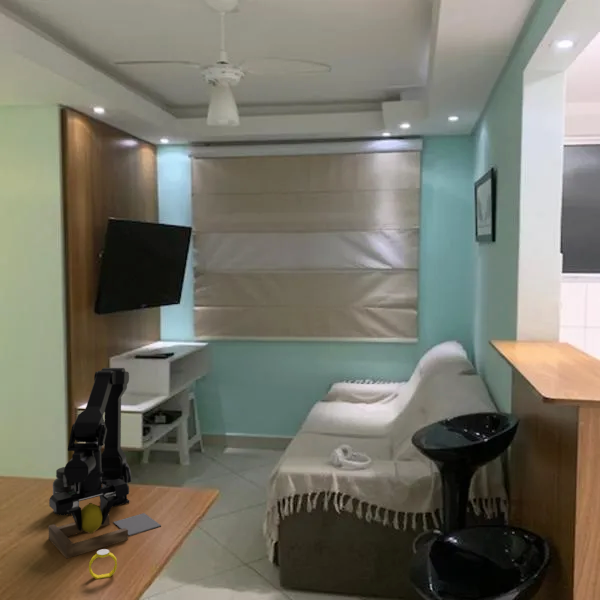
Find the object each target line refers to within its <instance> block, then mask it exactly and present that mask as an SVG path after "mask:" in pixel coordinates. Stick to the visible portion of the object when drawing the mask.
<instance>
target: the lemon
mask: <svg viewBox="0 0 600 600" xmlns="http://www.w3.org/2000/svg"><path fill="white" fill-rule="evenodd" d="M100 508H101V507H100V506H99V505H98V504H95V503H92V502H90V503H88V504H87V505H85V506H84V507H83V508H81V518H82V529H83V530H84V532H86V533H89V534H94V532H95V531H97V530H99V528H101V527H100V525H101V523H102V512H101V509H100Z"/></svg>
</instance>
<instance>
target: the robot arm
mask: <svg viewBox="0 0 600 600" xmlns="http://www.w3.org/2000/svg"><path fill="white" fill-rule="evenodd" d="M94 372H95V373H94V379H93V385H92V388H91V391H90V394H89V397H88V401H87V404H86V406H85V409H84V410H83V411H82V412H80V413H79V414H78V415H77V417H76V418H75V421H74V423H73V424H72V426H71V429H70V435H69V441H68V446H67V451H68V452H73V454H72V455H71V457H72V458H71V459H69V461H68V462H67V463H66V464H65V466H64V467H65V469H64V474H65V475H63V484H64V487H69V486H71V489H74V490H75V491H76V492H77V491H78V494H74V495H69V494H68V493H66V492H62V493H58V494H54V495H53V494H51V495H50V497H49V499H48V501H49V507H50V508H51V509H52V511H53V510H54V511H55V512H56V513H60V512H64V511H68V512H69V513H71V514H70V515H72V519H73V520H74V521H73V522H75V523H76V526H77V528H78V530H79V531H81V528H82V518H81V510H82V507H80V505H79V506H78V502H79V503H80V502H82V501H86V500H90V499H94V498H97V497H99V501H100V502H99V503H100V507H99V508H100V509H101V512H102V523H101V524H102V525H103V524H104V522H105V520H106V518H107V516H108V514H109V513H110V511H111V509H112V508H114V507H118V506H121V505H124V504H128V503H130V500H129V499H128V495H129V494H130V486H129V484H128V483H131V482H132V470H131V468H130V465H129V463H127V455H126V453H125V452H124V451H123V449H122V447H121V446H122V443H121V441H122V440H121V439H122V434H121V433H122V397H123V395H124V394H125V392H126V391H127V388H128V384H129V382H130V373H129V371H126V368H125V367H103V368H101V370H98V371H94ZM103 447H104V448H103ZM102 448H103V451H102ZM54 511H53V512H54Z"/></svg>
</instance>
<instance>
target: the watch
mask: <svg viewBox="0 0 600 600" xmlns="http://www.w3.org/2000/svg"><path fill="white" fill-rule="evenodd" d="M107 557H111V558H112V560H113V561H114V565H113V566H114V567H113V569H112V570H111V571H110V572H109V573H103V574H97V573H94V571H93V569H92V564H93V562H94V561H95V560H96V559H97V558H101V559H103V558H107ZM117 568H118V563H117V557H116V556H115V555H114V553H112V552H110V549H106V548H103V549H102V548H100V549H98V550H97V551H96V553H95V554H94V555H93V556H92V557H91V559H90V560H89V562H88V572H89V574H90V576H91V577H92V578H94V579H95V580H100V579H106V578H111V577H112V576H113V575H114V574H115V573H116V570H117Z"/></svg>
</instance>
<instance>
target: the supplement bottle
mask: <svg viewBox="0 0 600 600" xmlns="http://www.w3.org/2000/svg"><path fill="white" fill-rule="evenodd" d="M64 469H65V466H62V467H59V468H57V469H56V471H55V477H56V478H55V480H53V482H52V495H54V494H58V493H62V492H66V493H68V494H69V495H74V494H78V491H77V492H76V491H75V490H74V489H71V486H69V487H64V484H63V475H65V474H64ZM78 506H79V507H80V501H79V502H78ZM52 511H53V513H54V514H55V515H57V516H69V514H70V515H72V514H71V513H69V512H68V511H64V512H60V513H56V512H55V511H54V510H53V509H52Z"/></svg>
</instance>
